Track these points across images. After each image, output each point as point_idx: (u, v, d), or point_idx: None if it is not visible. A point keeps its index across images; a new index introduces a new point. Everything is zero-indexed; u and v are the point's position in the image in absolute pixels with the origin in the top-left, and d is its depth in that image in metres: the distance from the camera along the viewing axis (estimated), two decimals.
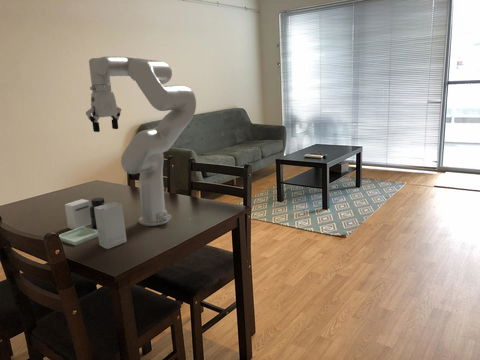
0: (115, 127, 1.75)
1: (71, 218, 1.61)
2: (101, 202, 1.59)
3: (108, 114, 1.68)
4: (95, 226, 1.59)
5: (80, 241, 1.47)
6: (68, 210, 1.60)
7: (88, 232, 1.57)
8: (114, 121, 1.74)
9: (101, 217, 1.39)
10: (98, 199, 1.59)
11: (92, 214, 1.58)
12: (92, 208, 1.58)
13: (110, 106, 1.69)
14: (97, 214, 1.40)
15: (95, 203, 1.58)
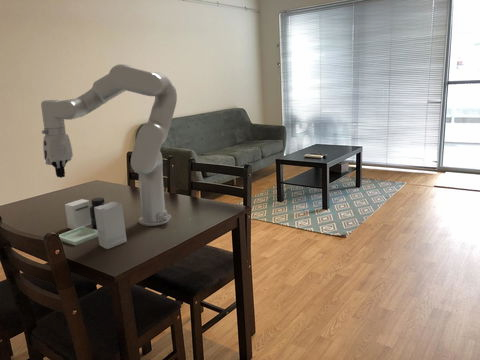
0: None
1: (71, 218, 1.61)
2: (101, 202, 1.59)
3: (62, 158, 1.61)
4: (95, 226, 1.59)
5: (80, 241, 1.47)
6: (68, 210, 1.60)
7: (88, 232, 1.57)
8: None
9: (101, 217, 1.39)
10: (98, 199, 1.59)
11: (92, 214, 1.58)
12: (92, 208, 1.58)
13: (64, 149, 1.61)
14: (97, 214, 1.40)
15: (95, 203, 1.58)
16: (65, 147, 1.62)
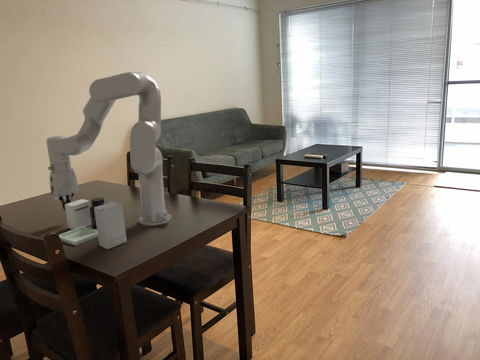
0: None
1: (71, 218, 1.61)
2: (101, 202, 1.59)
3: (68, 192, 1.65)
4: (95, 226, 1.59)
5: (80, 241, 1.47)
6: (68, 210, 1.60)
7: (88, 232, 1.57)
8: None
9: (101, 217, 1.39)
10: (98, 199, 1.59)
11: (92, 214, 1.58)
12: (92, 208, 1.58)
13: (70, 184, 1.65)
14: (97, 214, 1.40)
15: (95, 203, 1.58)
16: (71, 181, 1.65)
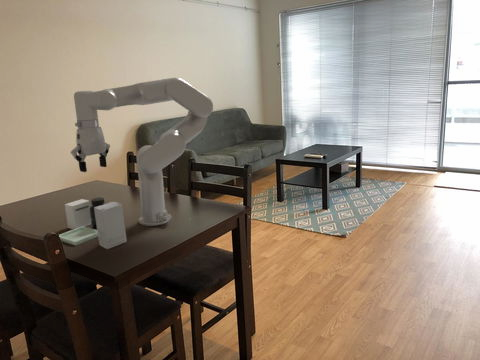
0: (103, 165, 1.60)
1: (71, 218, 1.61)
2: (101, 202, 1.59)
3: (95, 152, 1.53)
4: (95, 226, 1.59)
5: (80, 241, 1.47)
6: (68, 210, 1.60)
7: (88, 232, 1.57)
8: (102, 158, 1.59)
9: (101, 217, 1.39)
10: (98, 199, 1.59)
11: (92, 214, 1.58)
12: (92, 208, 1.58)
13: (98, 143, 1.54)
14: (97, 214, 1.40)
15: (95, 203, 1.58)
16: (98, 140, 1.54)
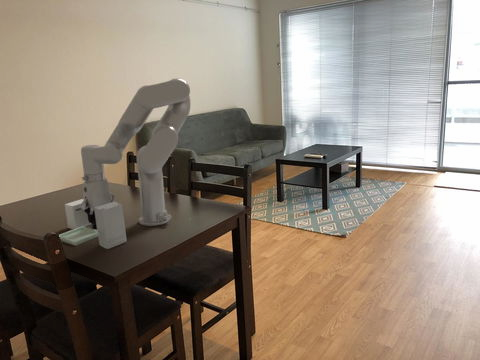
0: None
1: (71, 218, 1.61)
2: None
3: (101, 203, 1.59)
4: (95, 226, 1.59)
5: (80, 241, 1.47)
6: (68, 210, 1.60)
7: (88, 232, 1.57)
8: None
9: (101, 217, 1.39)
10: None
11: None
12: None
13: (104, 194, 1.59)
14: (97, 214, 1.40)
15: None
16: (105, 192, 1.59)
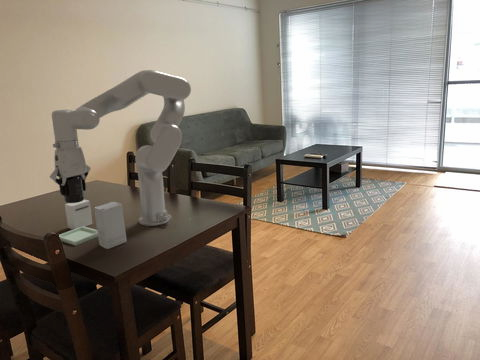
0: None
1: (71, 218, 1.61)
2: None
3: (75, 173, 1.45)
4: (68, 199, 1.46)
5: (80, 241, 1.47)
6: (68, 210, 1.60)
7: (88, 232, 1.57)
8: None
9: (101, 217, 1.39)
10: None
11: None
12: None
13: (77, 164, 1.46)
14: (97, 214, 1.40)
15: None
16: (78, 161, 1.46)
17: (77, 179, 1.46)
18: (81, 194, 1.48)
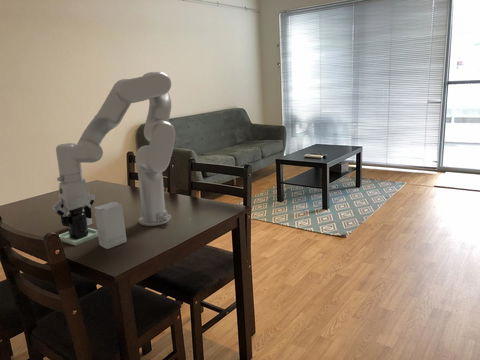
0: (88, 216, 1.55)
1: None
2: (78, 209, 1.49)
3: (79, 205, 1.48)
4: (72, 235, 1.50)
5: (80, 241, 1.47)
6: None
7: (88, 232, 1.57)
8: (87, 210, 1.54)
9: (101, 217, 1.39)
10: None
11: (69, 222, 1.49)
12: (69, 216, 1.48)
13: (81, 196, 1.49)
14: (97, 214, 1.40)
15: (72, 210, 1.48)
16: (82, 193, 1.49)
17: (81, 216, 1.49)
18: (85, 230, 1.51)
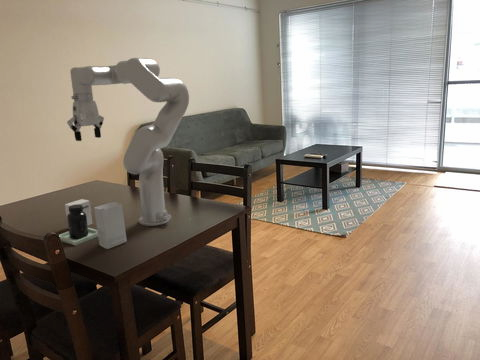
0: (98, 136, 1.75)
1: None
2: (79, 209, 1.49)
3: (90, 123, 1.69)
4: (72, 235, 1.50)
5: (80, 241, 1.47)
6: (68, 210, 1.60)
7: (88, 232, 1.57)
8: (97, 130, 1.75)
9: (101, 217, 1.39)
10: (76, 206, 1.50)
11: (69, 222, 1.49)
12: (69, 216, 1.48)
13: (92, 115, 1.69)
14: (97, 214, 1.40)
15: (72, 210, 1.48)
16: (93, 113, 1.69)
17: (81, 216, 1.49)
18: (85, 230, 1.51)
